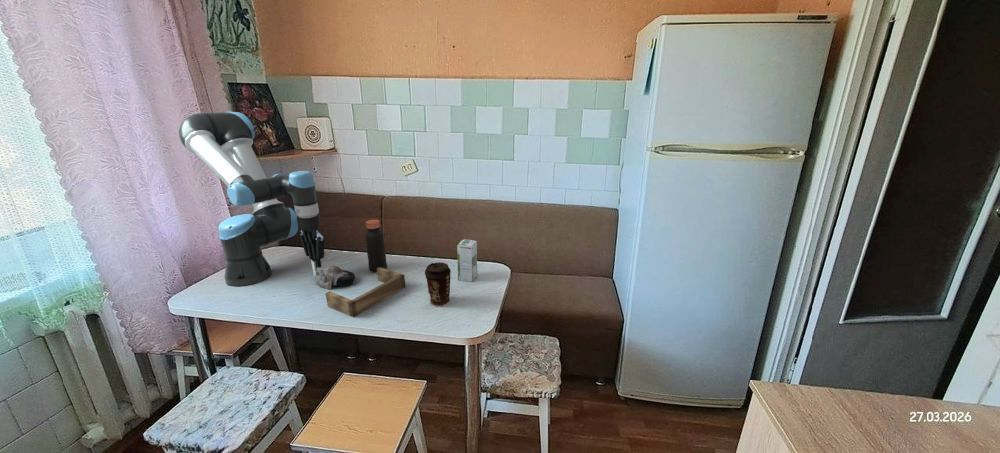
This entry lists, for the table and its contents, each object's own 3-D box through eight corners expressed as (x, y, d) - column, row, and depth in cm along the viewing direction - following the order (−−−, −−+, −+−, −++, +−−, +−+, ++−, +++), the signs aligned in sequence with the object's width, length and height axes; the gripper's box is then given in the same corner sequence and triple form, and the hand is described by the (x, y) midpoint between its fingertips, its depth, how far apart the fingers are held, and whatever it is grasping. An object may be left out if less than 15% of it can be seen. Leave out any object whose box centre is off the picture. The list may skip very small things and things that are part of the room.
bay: (327, 306, 130) (325, 293, 128) (381, 279, 148) (379, 267, 147) (353, 317, 124) (351, 303, 122) (405, 287, 142) (404, 274, 140)
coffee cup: (430, 294, 137) (427, 260, 132) (453, 295, 136) (452, 260, 132) (424, 308, 129) (421, 272, 124) (450, 308, 128) (448, 272, 124)
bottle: (386, 272, 154) (381, 223, 147) (368, 273, 152) (362, 224, 146) (387, 264, 160) (382, 218, 154) (369, 266, 159) (364, 219, 152)
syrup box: (463, 273, 152) (461, 238, 147) (477, 275, 151) (476, 240, 146) (457, 280, 147) (456, 244, 142) (472, 282, 145) (471, 245, 141)
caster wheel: (357, 286, 149) (340, 295, 139) (332, 276, 151) (313, 284, 142) (360, 269, 147) (343, 277, 138) (335, 260, 149) (316, 267, 140)
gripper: (287, 215, 141) (298, 274, 149) (309, 220, 135) (320, 282, 142) (306, 209, 147) (316, 267, 155) (328, 215, 141) (338, 274, 149)
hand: (318, 274), depth 149 cm, fingers closed
